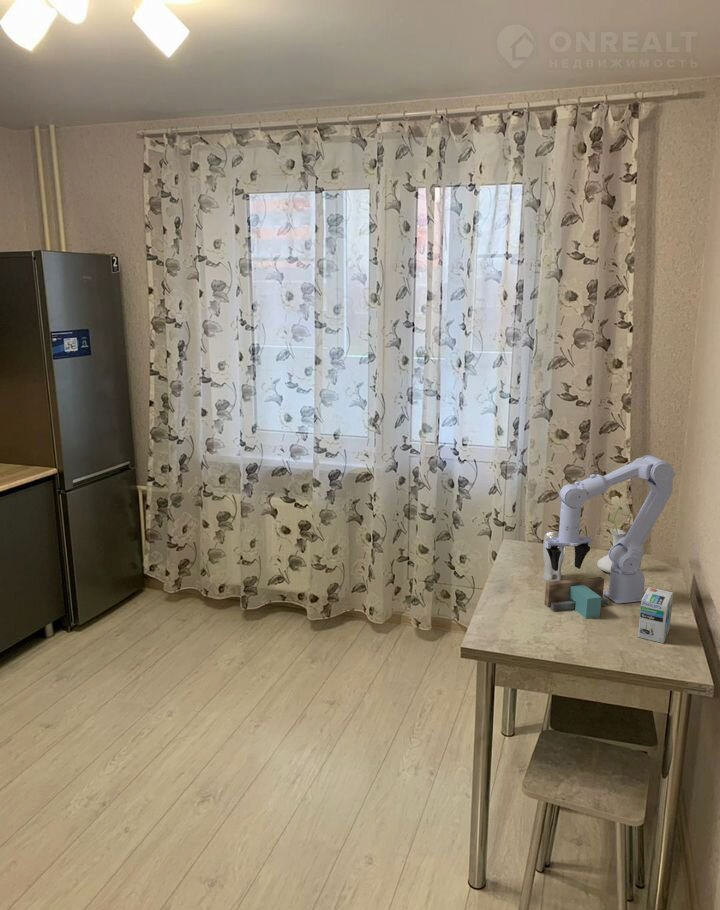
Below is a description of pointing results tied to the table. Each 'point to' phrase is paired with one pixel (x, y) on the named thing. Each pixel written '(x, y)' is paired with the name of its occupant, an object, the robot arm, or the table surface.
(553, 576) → the beer glass
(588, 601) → the teal rectangular block
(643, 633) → the light bulb box
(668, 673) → the table surface
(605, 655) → the table surface
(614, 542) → the flower in vase
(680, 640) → the table surface
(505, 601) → the table surface
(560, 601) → the brown wooden ledge block
